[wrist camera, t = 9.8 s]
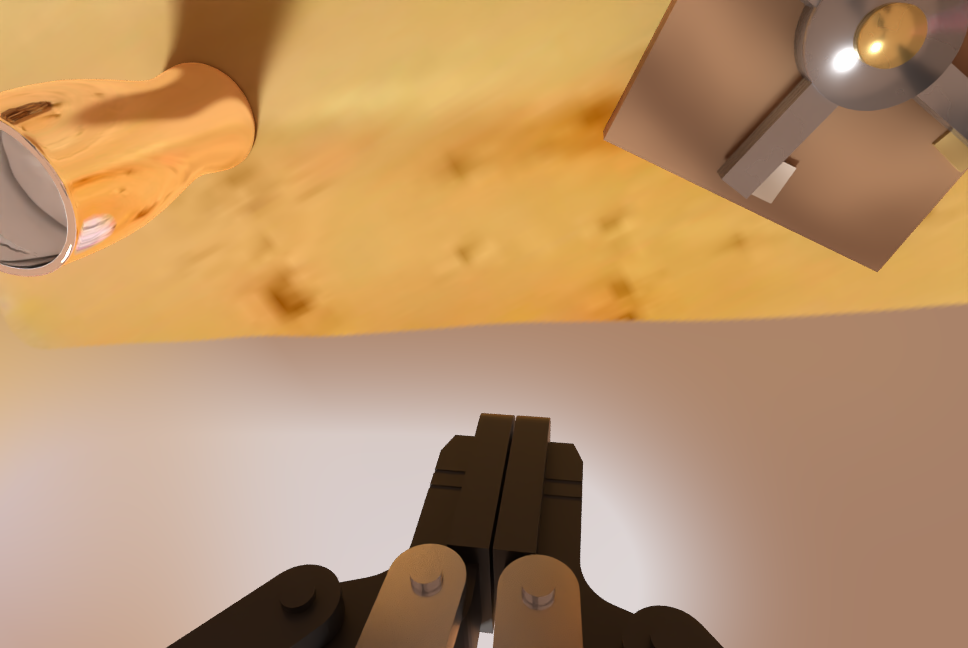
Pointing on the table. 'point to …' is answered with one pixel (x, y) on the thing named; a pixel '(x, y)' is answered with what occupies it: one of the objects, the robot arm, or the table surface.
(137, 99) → the beer glass
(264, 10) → the table surface
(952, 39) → the capstan
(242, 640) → the robot arm
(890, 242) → the stand
